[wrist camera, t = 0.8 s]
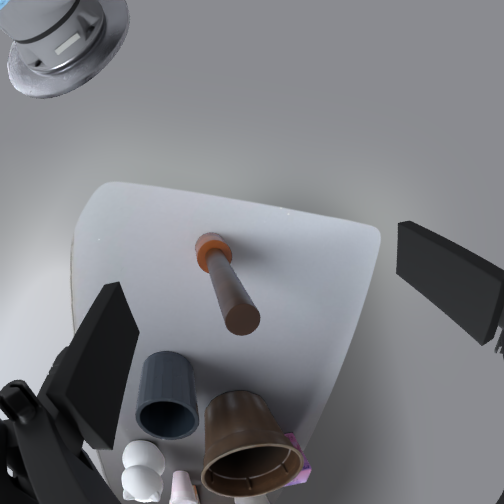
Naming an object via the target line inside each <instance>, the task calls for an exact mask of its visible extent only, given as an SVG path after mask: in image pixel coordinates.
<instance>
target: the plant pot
mask: <svg viewBox="0 0 504 504" xmlns="http://www.w3.org/2000/svg"><path fill="white" fill-rule="evenodd" d="M204 416H205V455H204V468H203V470H202V473H201V481H202V483H203V485H204V486H205V487H206V488H207V489H208V490H209V491H211V492H213V493H215V494H218V495H222V496H226V497H236V498H244V497H254V496H259V495H263V494H266V493H269V492H272V491H275V490H277V489H279V488H281V487H283V486H285V485H286V484H288V483H289V482H291V481H292V480H293V479H295V478H296V477H297V476H298V474H299V473H300V472H301V470H302V468H303V466H304V458H303V455H302V454H301V452H300V451H299V450H298V449H296V448H295V447H294V446H293V444H292V443H291V441H290V440H289V439H288V438H287V437H286V436H285V435H284V433H283V432H282V430H281V429H280V427H279V425H278V424H277V422H276V420H275V419H274V417H273V415H272V414H271V412H270V410H269V408H268V407H267V405H266V403H265V401H264V400H263V399H262V398H261V397H260V396H259V395H257V394H252V393H250V392H248V391H232V392H228V393H224V394H222V395H219V396H217V397H216V398H214V399H213V400H212V401H211V402H210V404H209V406H208V407H207V408H206V410H205V415H204Z"/></svg>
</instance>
